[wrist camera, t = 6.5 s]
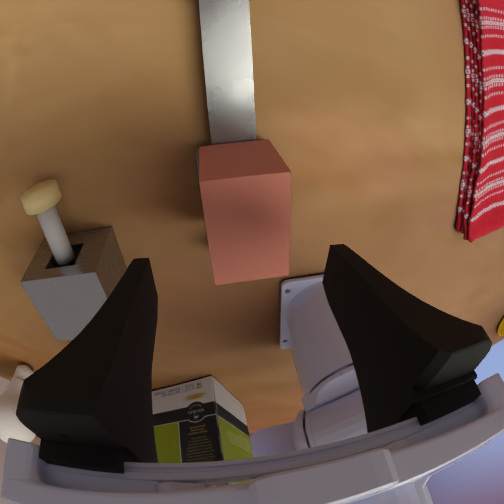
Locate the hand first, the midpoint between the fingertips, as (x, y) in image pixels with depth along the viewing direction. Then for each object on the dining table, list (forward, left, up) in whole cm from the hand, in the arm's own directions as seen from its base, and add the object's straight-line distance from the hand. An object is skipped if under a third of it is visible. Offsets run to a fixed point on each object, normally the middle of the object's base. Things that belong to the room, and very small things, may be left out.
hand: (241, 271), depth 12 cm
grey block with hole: (-6, +11, -10) cm, 16 cm away
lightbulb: (-20, +27, -10) cm, 35 cm away
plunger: (0, +11, -8) cm, 14 cm away
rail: (+3, -1, -10) cm, 10 cm away
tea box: (-30, +9, -10) cm, 32 cm away
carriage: (0, -1, -10) cm, 10 cm away
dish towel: (+5, -28, -10) cm, 30 cm away
